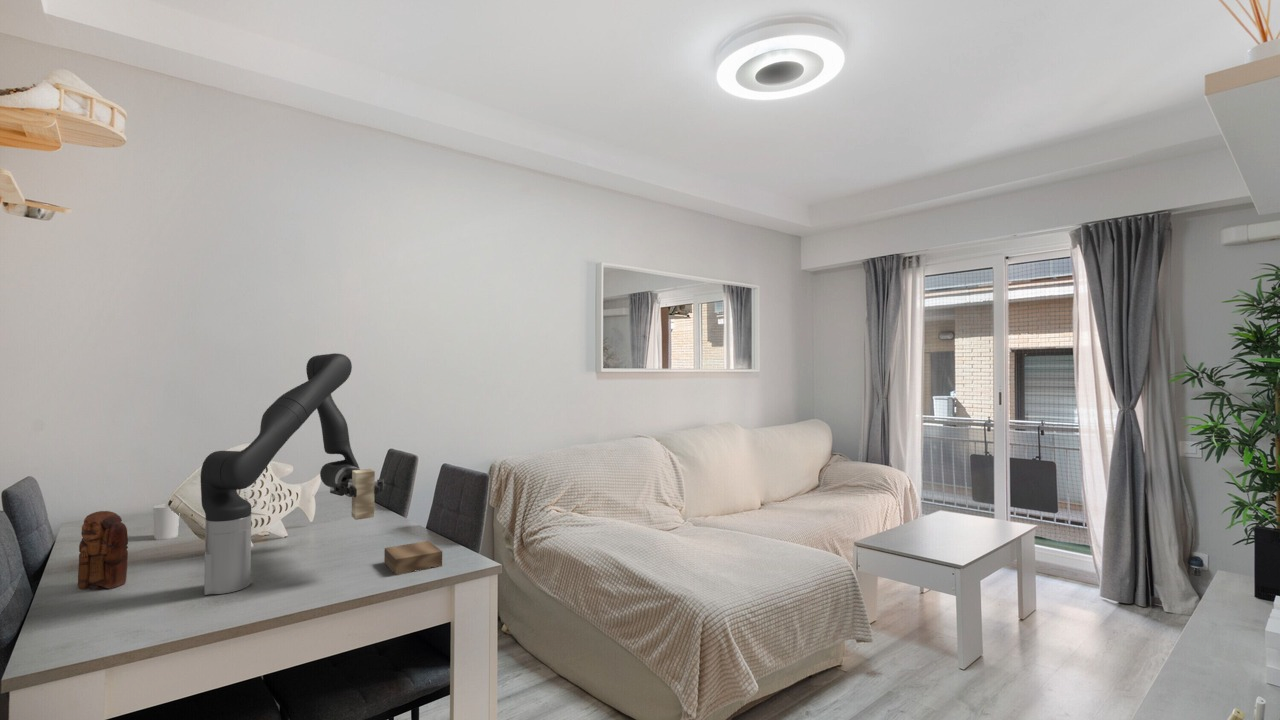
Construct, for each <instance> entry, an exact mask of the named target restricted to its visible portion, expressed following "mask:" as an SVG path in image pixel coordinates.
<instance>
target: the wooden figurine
mask: <svg viewBox="0 0 1280 720" xmlns="http://www.w3.org/2000/svg"><path fill="white" fill-rule="evenodd" d="M122 521H123V520H122V518H121V516H120V515H118V514H117V513H115V512H113V511H110V510H100V511H95V512H92V513H90V514H88V515H86V517H85V518H84V520H83V524H82V525H81V531H80V532H81V533H80V534H81V537H82V538H81V541H80V543H79V545H78V551H79V555H78V568H77V569H78V570H77V571H78V573H77V587H78V589H79V590H101V589H115V588H117V587H119V586H122V585H124V584H126V582H127V573H128V557H129V552H128V549H129V547H128V544H129V537H128V536H129V535H128V527H127V525H126V524H125V523H123V522H122Z"/></svg>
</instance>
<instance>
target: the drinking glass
mask: <svg viewBox="0 0 1280 720" xmlns="http://www.w3.org/2000/svg"><path fill="white" fill-rule="evenodd" d="M168 503H169V502H167V503H161V504H156V505H154V506H152V510H153V511H152V512H153V514H152V515H153V531H154V532H153V534H154V535H153V536H154V537H153V538H154V540H158V541H159V540H160V541H161V540H163V541H164V540H171V539H173V538H176V537H179V527H180V525H179V523H180V515H179V516H178V515H177V514H176V513H174V512H173V511H171V509H170V508H169V506H168Z"/></svg>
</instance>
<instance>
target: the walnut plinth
mask: <svg viewBox="0 0 1280 720" xmlns="http://www.w3.org/2000/svg"><path fill="white" fill-rule="evenodd" d="M384 564H385V565H386V566H387V567H388V569H390V570H391V571H392V572H393V574H394V575H395V576H397V575H404V574H408V573H407V572H409V573H412V572H411V571H414V572H416V571H415V570H419V571H421V570H420V569H424V570H427V569H426V568H429V569H432V568H431V567H435V568H438V567H437V566H440V567H443V551H442V549H440V548H439V547H438V546H436V545H435V544H433V543H432V541H429V540H427V541H426V540H425V541H424V540H423V541H420V542H419V541H418V542H414V543H413V542H412V543H407V544H406V543H405V544H400V545H397V546H395V545H394V546H390V547H384ZM403 573H404V574H403Z"/></svg>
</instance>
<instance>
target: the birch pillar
mask: <svg viewBox="0 0 1280 720" xmlns="http://www.w3.org/2000/svg"><path fill="white" fill-rule="evenodd" d="M375 478H376V471H375V470H374V469H372V468H367V469H360V470H353V471H352V486H354V487H355V488H356V489H357V496H356V497H353V496H352V497H351V517H352V518H353V519H354V520H355V521H357V520H365V519H371V518H375V495H374V486H375V481H376V479H375Z"/></svg>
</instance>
